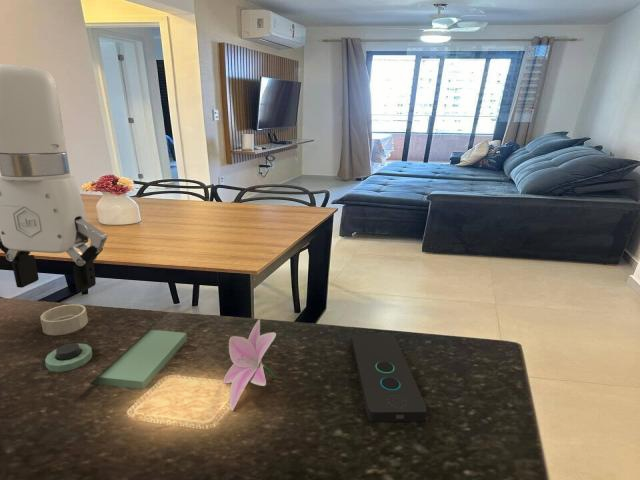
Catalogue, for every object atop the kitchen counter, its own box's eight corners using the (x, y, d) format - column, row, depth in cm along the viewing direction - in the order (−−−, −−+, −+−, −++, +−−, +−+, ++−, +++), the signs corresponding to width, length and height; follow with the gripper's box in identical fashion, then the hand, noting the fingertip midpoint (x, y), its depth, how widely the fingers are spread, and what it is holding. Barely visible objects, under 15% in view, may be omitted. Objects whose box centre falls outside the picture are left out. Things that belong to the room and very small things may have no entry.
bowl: (35, 343, 67) (30, 319, 65) (64, 324, 73) (60, 302, 72) (70, 346, 66) (66, 323, 65) (97, 327, 72) (94, 305, 71)
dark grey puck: (52, 360, 58) (51, 352, 57) (67, 349, 60) (66, 342, 60) (70, 362, 57) (69, 354, 57) (85, 351, 60) (83, 343, 60)
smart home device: (368, 411, 50) (350, 333, 69) (367, 422, 51) (349, 341, 70) (429, 411, 51) (394, 333, 70) (428, 421, 51) (394, 341, 70)
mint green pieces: (39, 380, 57) (35, 363, 56) (103, 331, 71) (100, 317, 70) (142, 391, 55) (140, 374, 54) (187, 339, 69) (186, 324, 68)
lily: (236, 362, 65) (206, 327, 59) (300, 341, 63) (276, 302, 58) (229, 431, 55) (193, 397, 49) (305, 408, 53) (276, 369, 48)
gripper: (-52, 166, 48) (-21, 292, 53) (75, 172, 46) (95, 301, 51) (2, 162, 55) (25, 273, 60) (114, 166, 53) (128, 280, 58)
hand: (57, 286), depth 56 cm, fingers open, 8 cm apart
